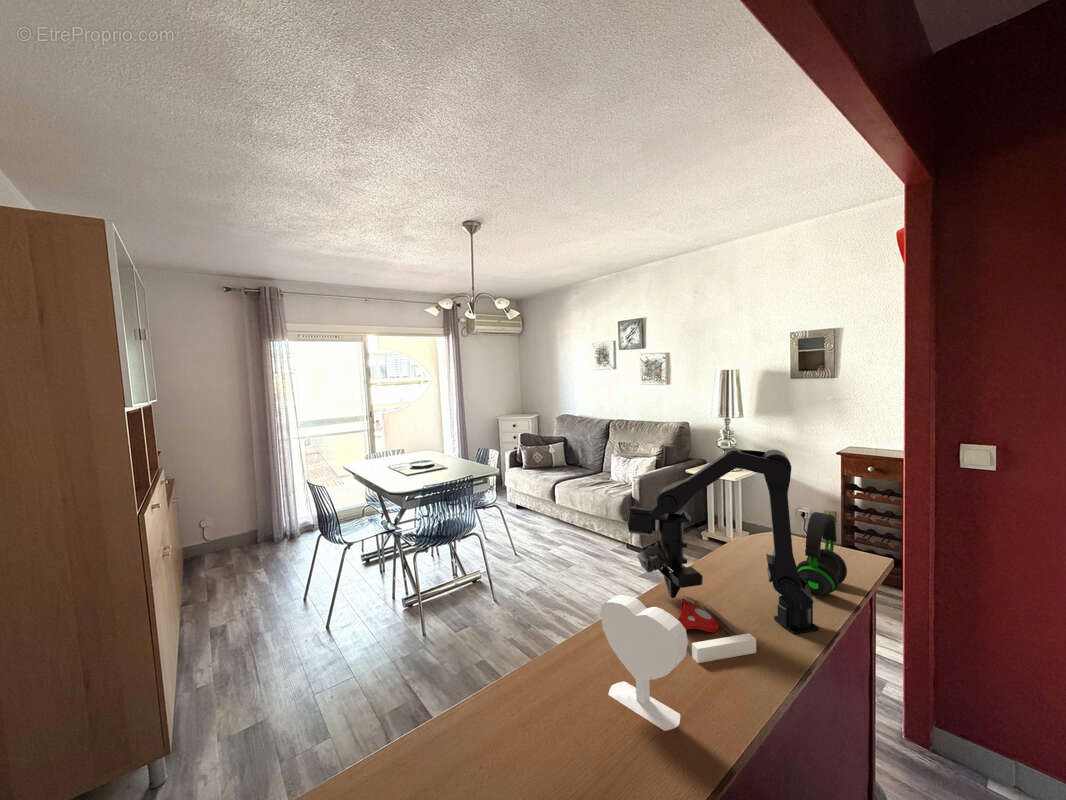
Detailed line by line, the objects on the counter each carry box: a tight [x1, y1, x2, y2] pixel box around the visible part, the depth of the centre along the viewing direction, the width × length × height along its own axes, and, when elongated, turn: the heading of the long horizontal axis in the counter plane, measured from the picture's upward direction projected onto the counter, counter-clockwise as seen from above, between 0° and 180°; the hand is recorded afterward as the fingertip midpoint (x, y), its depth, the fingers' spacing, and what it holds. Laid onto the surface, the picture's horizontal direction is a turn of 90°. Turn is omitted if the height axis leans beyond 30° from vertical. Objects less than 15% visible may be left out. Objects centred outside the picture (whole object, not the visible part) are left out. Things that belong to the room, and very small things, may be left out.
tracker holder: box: [677, 596, 720, 633], centre depth 104 cm, size 12×4×10 cm
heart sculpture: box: [600, 594, 689, 732], centre depth 78 cm, size 16×5×18 cm, turn 43°
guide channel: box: [686, 603, 757, 664], centre depth 99 cm, size 13×17×3 cm
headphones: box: [796, 511, 848, 596], centre depth 116 cm, size 9×16×20 cm, turn 131°
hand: (672, 597), depth 112 cm, fingers closed
